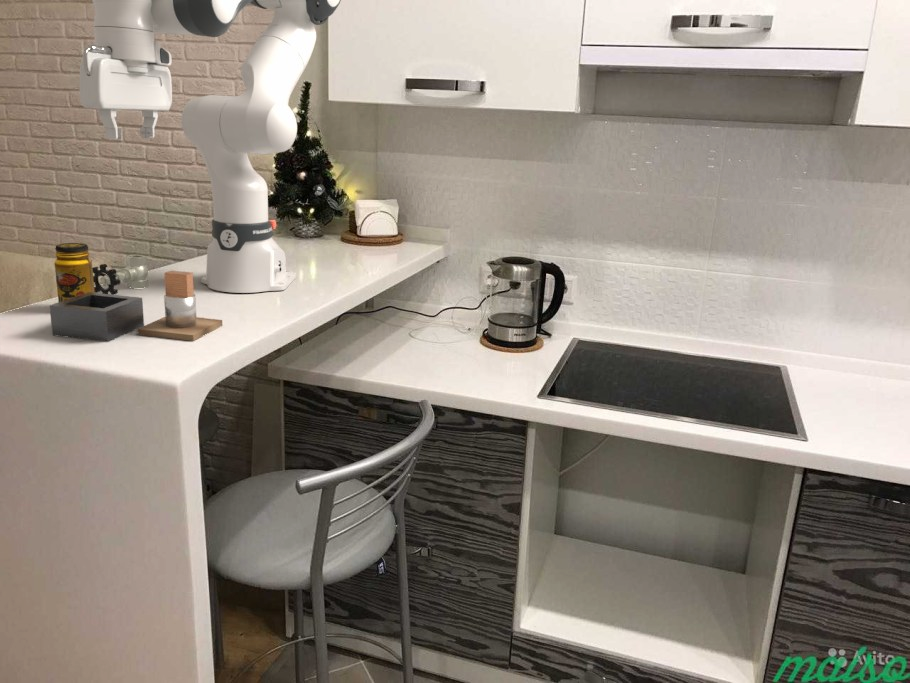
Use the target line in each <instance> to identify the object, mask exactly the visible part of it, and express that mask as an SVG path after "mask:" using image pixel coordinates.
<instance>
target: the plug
mask: <svg viewBox="0 0 910 683" xmlns="http://www.w3.org/2000/svg"><path fill="white" fill-rule="evenodd" d="M164 287H165V289H164V290H165V294H164V296H163V301H164V317H165V321H166V326H167V327H170V328H189V327H193V326H195V325H196V324H197V318H196V317H197V302H196V300H197V299H196V294H195V293H194V292H195V291H194V274H193V272H190V271H181V270H180V271H179V270H168V271H165V272H164Z"/></svg>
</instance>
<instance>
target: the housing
mask: <svg viewBox="0 0 910 683" xmlns="http://www.w3.org/2000/svg"><path fill="white" fill-rule="evenodd" d="M143 303H144V302H143V297H138V296H130V295H119V294H114V295H112V294H110V293H108V294H102V292H95V293H93V292H88V293H85V294H82V295H79V296H76V297H73V298H70V299H67V300H64V301H61V302H58V301H57V302H56V303H55V302H54V303H53V304H49V313H50V314H49V315H50V323H51V324H50V325H51V332H52V334H51V335H52V336H55V335H58V336H57V337H63V336H68V337H67V338H72V337H73V339H81V340H83V339H84V340H89V339H90V341H99V342H108V343H109V342H111V341H113V340H115V338H116V339H117V338H119V337H122V336H124V334H125V335H127V334H129V333H132V332H133V330H134V331H136V330H138V328H141V327H142V326H145V319H144V318H145V317H144V304H143ZM135 329H136V330H135Z"/></svg>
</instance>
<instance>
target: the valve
mask: <svg viewBox="0 0 910 683" xmlns="http://www.w3.org/2000/svg"><path fill="white" fill-rule="evenodd" d="M125 262H126V265H127V266H125V267H122V268H120V269H119V271H117V270H116V269H115V268H111V269H107V268H108V265H107V263H101V264H100V265H99V267H98V266H92V269H93V281H94V292H95V293H102V294H112V295H118V291H119V290H118V289H115V286H119V285H121V282H123V283H127V287H128V286H129V287H131V288H144V287H147V286H148V287H149V284H148V279H147V278H148V276H149V269H148V266H147V257H146V255H143V254H130V255H127V256H126V257H125ZM99 277H100V282H99ZM100 283H101V284H100ZM102 285H103V286H108V287H107V288H105V287H103V286H102ZM129 287H128V288H129ZM148 287H147V288H148ZM131 288H130V289H131ZM144 289H145V288H144Z"/></svg>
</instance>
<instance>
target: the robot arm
mask: <svg viewBox="0 0 910 683" xmlns="http://www.w3.org/2000/svg"><path fill="white" fill-rule="evenodd" d="M91 1H92V4H93V6H94V19H93V24H92V25H93V38H94V44H88V45H87V47H86V48H85V50H84V51H83V52H82V59H81V62H80V66H79V67H80V68H79V86H78V87H79V100H80V102H81V104H82V107H83V108H85V109H94V110H95V109H97V110H98V117H99V118H100V119H99V120H100V121H101V123H102V125H103V127H104V129H105V138H106V139H107V140H110V141H111V140H114V141H117V140H118V141H119V140H121V139H122V128H121V127H118V125H117V121H116V119H115V118H116V117H117V110H122V111H124V110H126V111H141V116H142V117H143V123H142V127H139V131H140V132H139V133H140V135H139V136H140V137H141V139H154V138H155V135H156V134H155V127H156V124H157V121H158V119H159V116H158V115H159V114H158V112H161V111H163V112H164V111H165V112H169V111H170V109H171V107H172V103H173V86H172V74H171V71H170V69H169V66H171V65H172V61H173V60H172V53H170V51H168V50H167V49H166V48H164V46H162V45H161V44H160V43H159V42H158V41H157V40H155V34H157V35H159V34H160V35H182V36H183V35H184V36H185V35H188V36H189V35H190V36H192V35H193V36H194V35H195V36H200V37H201V36H202V37H208V38H218V37H221V36H222V35H223V36H224V34H226V33H227V31H228V30H230V27H231V26H232V24H234V21H235V19H236V17H237V16H238V15H239V13H240V12H241V11H242V10H243V9H244V8H246V6H248V5H249V4H251V5H253V6H255V7H257V8H260V9H263V10H267V9H269V10H272V11H274V13H273V18H272V20H271V22H270V23H269V24H268V25H267V27H265V29H264V30H263V31H262V33H261V34H259V37H258V38H257V40H256V42H255V43H254V45H253V46H252V48H251V49H250V51H249V52H248V54H247V56H245V59H244V60H243V61H242V64H241V66H240V75H241V80H242V82H243V85H244V86H245V88H246V90H245V91H244V92H243V93H241V94H239V95H225V94H224V95H221V94H209V95H208V94H207V95H204V96H203V95H202V96H198V97H195V98H192V99H190V100H189V101H188V102H186V104H185V105H184V107H183V108H182V113H181V118H180V120H181V128H182V131H183V133H184V136H185V137H186V138H187V140H189V142H190V143H191V144H192V145H193V146H194V147H195V148H196V149H197V151H198V153H199V154H200V156H201V158H202V160H203V162H204V164H205V166H206V170H207V172H208V176H209V179H210V184H211V185H210V186H211V195H212V207H213V208H212V210H213V211H212V212H213V219H211V226H210V228H211V229H210V230H211V237H212V238H213V239H212V241H211V242H210V243H209V244H208V246H207V250H206V252H207V253H206V273H205V274H206V276H203V277H201V283H202V284H204V285H207V287H208V288H209V289H211V290H213V291H217V292H226V293H234V294H235V293H236V294H237V293H238V294H239V293H241V294H245V293H246V294H248V293H250V294H252V293H260V292H261V293H262V292H270V291H271V292H272V291H273V292H274V291H275V292H276V291H285V290H286V288H288V287H289V285H290V284H292V282H293V281H294V280H295V279H296V278H297V272H296V271H291V270H288V269H287V258H286V253H285V250H283V249H282V248H281V247H280V245H279V244H278V243H277V242H276V241H275V239H274V238H273V236H274V234H273V230H275V229H276V228H277V221H276V219H269V200H268V199H269V197H268V195H269V192H268V191H269V190H268V187H269V186H268V184H267V182H266V180H265V179H264V177H262V176H261V175H260V174H259V173H258V172H256V170H255V169H254V167H253V166H252V164H251V161H250V158H249V156H248V154H252V155H253V154H254V155H272V154H278V153H284V152H287V151H288V150H289V149H291V147H293V145H294V142H295V141H296V137H297V134H298V122H297V119H296V115H295V113H294V111H293V110H292V109H291V107H290V105H289V104H290V103H289V101H290V98H291V94H292V93H293V91H294V89H295V88H296V85H297V84H298V82H299V80H300V78H301V76H302V75H303V73H304V71H305V70H306V68H307V66H308V63H309V61H310V59H311V57H312V54H313V51H314V48H315V45H316V43H317V42H316V41H317V31H316V30H317V29H316V28H315V26H321V25H323V24H325V23H326V22H327V21H328V19H329V17H330V16H332V15H333V14H334V13H335V11H336V10H337V8H339V5H340V3H341V1H342V0H91Z"/></svg>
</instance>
